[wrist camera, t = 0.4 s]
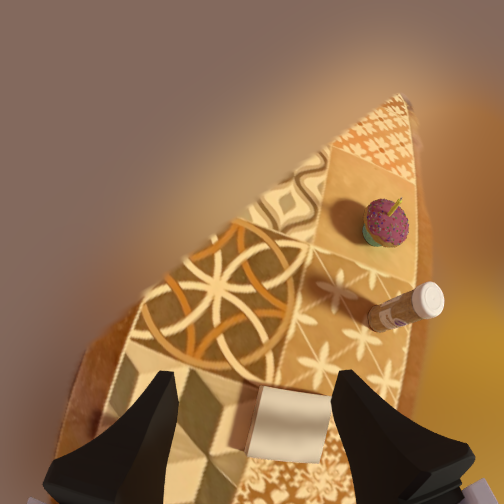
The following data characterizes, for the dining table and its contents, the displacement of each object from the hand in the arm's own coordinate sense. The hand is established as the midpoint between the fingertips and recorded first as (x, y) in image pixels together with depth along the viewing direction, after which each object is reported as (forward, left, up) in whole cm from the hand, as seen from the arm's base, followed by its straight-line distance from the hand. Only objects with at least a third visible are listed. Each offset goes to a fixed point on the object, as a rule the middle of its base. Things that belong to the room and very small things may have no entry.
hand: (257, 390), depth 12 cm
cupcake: (+28, -21, -28) cm, 45 cm away
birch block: (-5, -11, -28) cm, 31 cm away
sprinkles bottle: (+13, -23, -28) cm, 38 cm away
